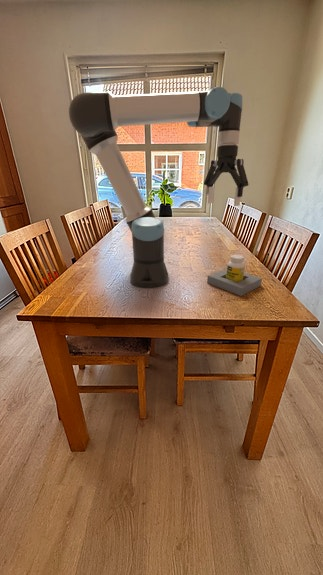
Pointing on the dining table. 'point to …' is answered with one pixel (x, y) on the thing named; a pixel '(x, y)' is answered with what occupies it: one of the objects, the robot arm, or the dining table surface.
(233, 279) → the pill bottle
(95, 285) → the dining table surface
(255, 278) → the bottle holder
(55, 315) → the dining table surface
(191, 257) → the dining table surface
